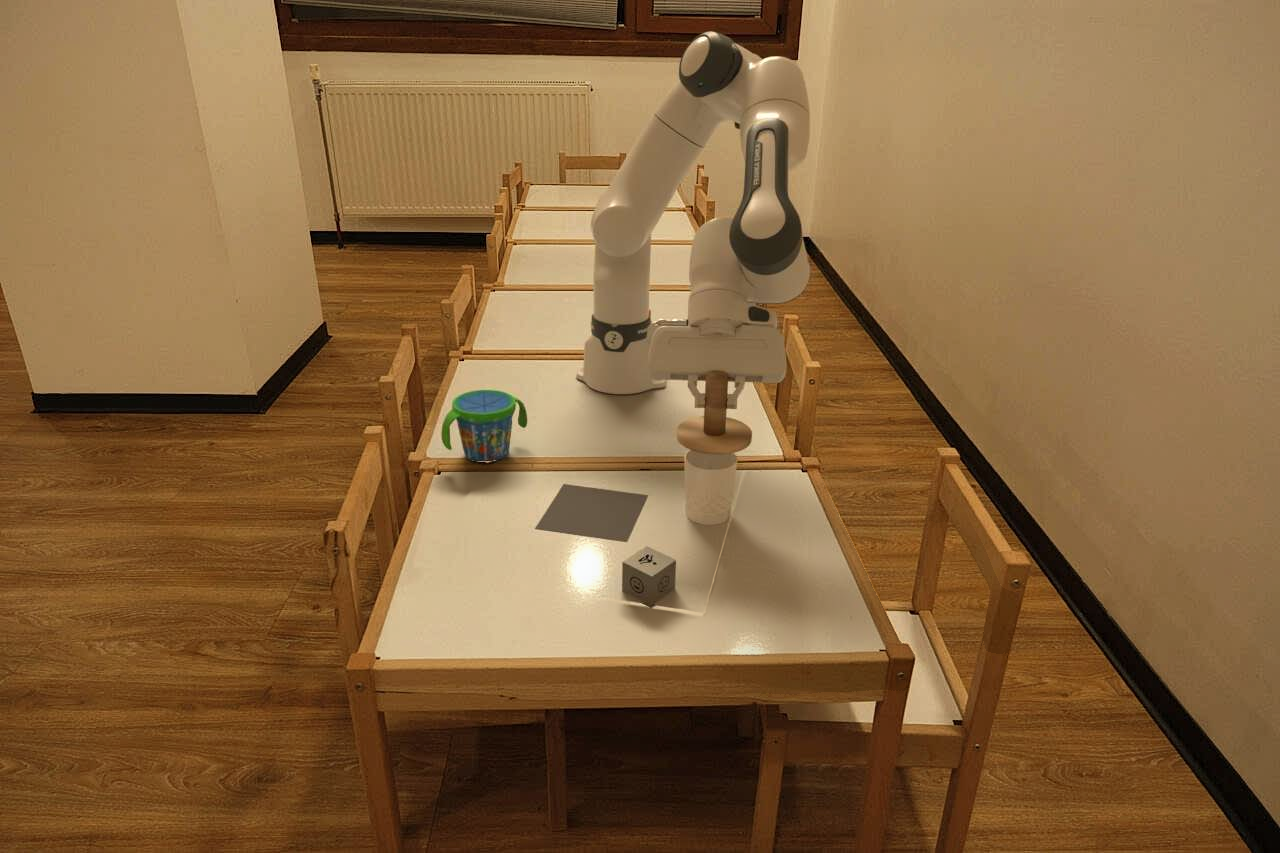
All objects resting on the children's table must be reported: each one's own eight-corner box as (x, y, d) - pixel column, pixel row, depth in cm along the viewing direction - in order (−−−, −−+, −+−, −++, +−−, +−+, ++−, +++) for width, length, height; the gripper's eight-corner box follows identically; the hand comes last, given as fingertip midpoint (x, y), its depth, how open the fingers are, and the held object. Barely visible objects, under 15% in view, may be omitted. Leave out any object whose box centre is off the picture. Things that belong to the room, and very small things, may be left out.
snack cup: (514, 433, 162) (512, 381, 158) (541, 456, 154) (540, 402, 150) (432, 453, 154) (427, 399, 150) (456, 479, 146) (452, 422, 142)
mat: (563, 486, 145) (563, 483, 145) (648, 497, 142) (648, 495, 142) (535, 530, 133) (534, 528, 132) (626, 544, 130) (626, 541, 130)
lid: (683, 418, 138) (686, 357, 133) (755, 425, 136) (760, 364, 131) (670, 449, 128) (671, 385, 124) (746, 458, 126) (751, 392, 122)
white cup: (705, 497, 143) (708, 440, 138) (743, 516, 138) (748, 458, 133) (671, 514, 138) (673, 456, 133) (709, 535, 133) (713, 475, 128)
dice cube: (645, 577, 123) (646, 546, 121) (674, 591, 120) (676, 559, 118) (622, 593, 119) (622, 561, 117) (651, 608, 116) (652, 576, 114)
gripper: (647, 309, 131) (643, 397, 127) (787, 312, 130) (788, 401, 126) (648, 328, 137) (644, 412, 133) (782, 331, 136) (783, 417, 132)
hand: (715, 407), depth 129 cm, fingers closed on lid, 3 cm apart
